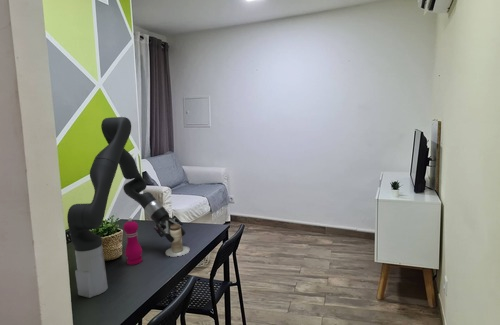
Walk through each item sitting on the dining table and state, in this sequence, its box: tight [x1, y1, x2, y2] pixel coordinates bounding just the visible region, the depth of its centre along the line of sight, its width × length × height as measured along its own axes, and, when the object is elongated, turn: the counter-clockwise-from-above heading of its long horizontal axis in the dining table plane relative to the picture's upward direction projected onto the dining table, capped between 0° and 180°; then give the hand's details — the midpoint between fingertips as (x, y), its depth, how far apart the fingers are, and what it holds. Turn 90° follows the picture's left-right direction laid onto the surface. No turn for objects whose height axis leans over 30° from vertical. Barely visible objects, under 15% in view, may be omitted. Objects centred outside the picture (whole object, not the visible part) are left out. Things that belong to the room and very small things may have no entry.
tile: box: [165, 245, 191, 258], centre depth 163 cm, size 11×11×1 cm
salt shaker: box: [169, 223, 184, 253], centre depth 162 cm, size 5×5×12 cm
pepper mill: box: [123, 217, 143, 266], centre depth 153 cm, size 7×7×20 cm
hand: (178, 237), depth 161 cm, fingers open, 8 cm apart
